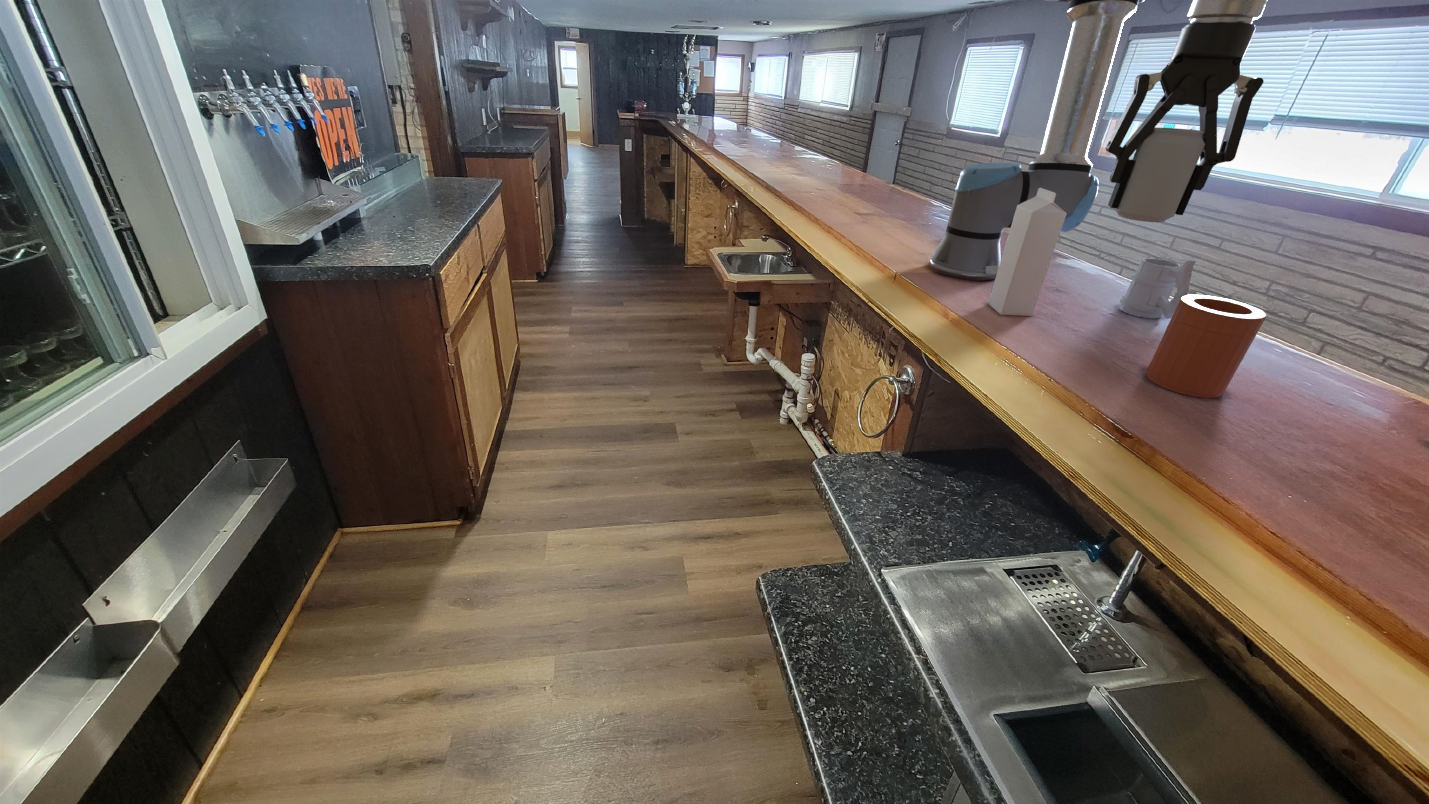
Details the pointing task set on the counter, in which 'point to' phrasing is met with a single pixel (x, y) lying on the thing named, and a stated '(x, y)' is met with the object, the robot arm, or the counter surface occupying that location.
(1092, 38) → the robot arm
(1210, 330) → the jar
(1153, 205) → the can
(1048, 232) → the milk
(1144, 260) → the mug
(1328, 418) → the counter surface
